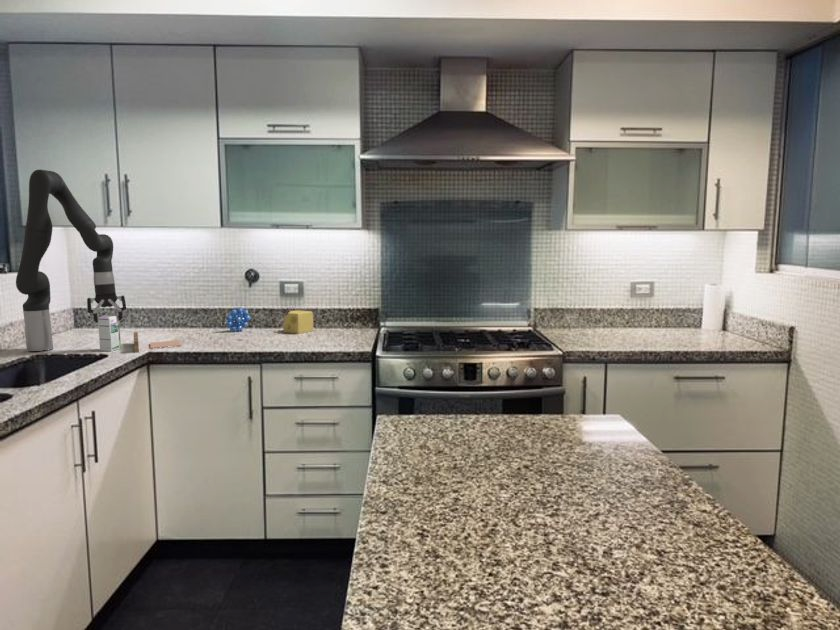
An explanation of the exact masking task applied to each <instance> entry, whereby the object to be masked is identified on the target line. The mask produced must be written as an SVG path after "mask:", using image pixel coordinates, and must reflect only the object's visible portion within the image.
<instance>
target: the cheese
mask: <svg viewBox="0 0 840 630" xmlns="http://www.w3.org/2000/svg"><path fill="white" fill-rule="evenodd" d="M283 323H284V324H283V333H287V334H288V333H289V334H295V335H296V334H297V335H301V334H304V333H309V332H313V331H314V313H313V311H307V310H301V309H300V310H299V309H298V310H292V311H291V310H290V311H289V312H287V314H286V316H284V317H283Z"/></svg>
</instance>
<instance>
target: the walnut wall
mask: <svg viewBox="0 0 840 630" xmlns="http://www.w3.org/2000/svg"><path fill="white" fill-rule="evenodd" d="M139 346H140V345H139V334H138V331H134V332H133V348H134V350H133V351H134V353H135V352H136V353H140V347H139Z"/></svg>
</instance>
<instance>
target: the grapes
mask: <svg viewBox="0 0 840 630" xmlns="http://www.w3.org/2000/svg"><path fill="white" fill-rule="evenodd" d="M225 319H226V321H227V322H226V323H225V326H226V328H229V330H230V332H235V331H237V332H241V331H242V330H243V328H244V329H245V328H247V327H248V326H249V323H248V322H249V321H250V320H251V316H250V315H249V310H248V309H244V308H243V307H237V309H233V308H232V310H231V311H230V314H228V315H227V316H226V318H225Z"/></svg>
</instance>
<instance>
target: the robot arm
mask: <svg viewBox="0 0 840 630" xmlns="http://www.w3.org/2000/svg"><path fill="white" fill-rule="evenodd" d="M50 195H52V197H54V198H55V199H56V200H57V201H58V202H59V204H60V205H61V206H62V208H63V211H64V214H65V215H66V216H65V217H66V218H67V220H68V221H69V223H71V225H72V226H73V227H74V229H76V230H77V232H78V234H79V235H80V237H81V240H82V241H83V243H84V245H85V246H86V247H87V248H88V249H89V250H90V251H92V252H94V253H95V252H96V257H94V258H93V260H92V271H93V285H94V294H95V295H94V296H95V297H87V299H86V300H87V301H86V302H87V304H86V305H87V306H86V307H87V312H88V313H91V314H92V315H93V321H94V322H95V323H97V324H98V317H99V316H98V311H99V310H100V308H107V307H108V308H111V307H114V308H115V309H116V310H117V311H118V313H117V314H118V315H117V316H119V322H120V321H122V319H123V317H124V316H123V311H126V310H127V304H126V299H125V295H119V296H117V294H116V293H117V291H116V283H115V282H116V281H115V276H114V272H113V262H112V260H113V255H114V254H113V253H114V242H113V239H112V238H111V237H110V236H109V235H108V234H105V233H103V234H99V233H98V232H97V230H96V227H97V224H96V223H95V222H94V220H93V219H92V218H91V217H90V216H89V214H88V213H87V212H86V211H85V210H84V209H83V208H82V207H81V205H80V203H79V202H78V201H77V199H76V198H75V196H74V195H73V193H72V192H71V190H70V189H69V187H68V185H67V184H66V182H65V181H64V179H63V178H62V175H60V174H59V173H57V172H55V171H53V170H52V171H51V170H47V169H46V170H45V169H36V170H34V171H32V172H31V174H30V176H29V180H28V208H27V214H26V215H27V216H26V222H25V228H24V229H25V230H24V236H23V237H24V238H23V244H22V245H23V246H22V251H21V258H20V263H19V265H18V266H19V267H18V270H17V274H16V276H15V277H16V278H15V286H16V289H17V291H18V292H19V293H21V294H22V295H27V298H26V300H25V301H24V303H23V304H22V313H23V321H24V335H25V336H24V337H25V346H26V351H27V350H28V351H40V350H48V349H52V348H53V349H54V342H53V334H52V333H53V331H52V323H51V315H50V314H51V313H50V304H51V298H52V297H51V284H50V279H49V277H48V275H47V274H46V273H45V272H43V271H40V263H41V261H42V259H43V257H44V256H45V254H46V252H47V251H48V249H49V246H50V245H51V240H52V236H53V222H52V219H51V216H50V213H49V209H48V204H49V197H50ZM117 300H119V301H120V302H121V305H122V307H120V305H118V304H117ZM94 301H95V302H96V303H97V305H96V306H95V308H94V309H92V304H93V303H94ZM53 349H52V350H53ZM28 351H27V352H28ZM48 351H49V350H48Z"/></svg>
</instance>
